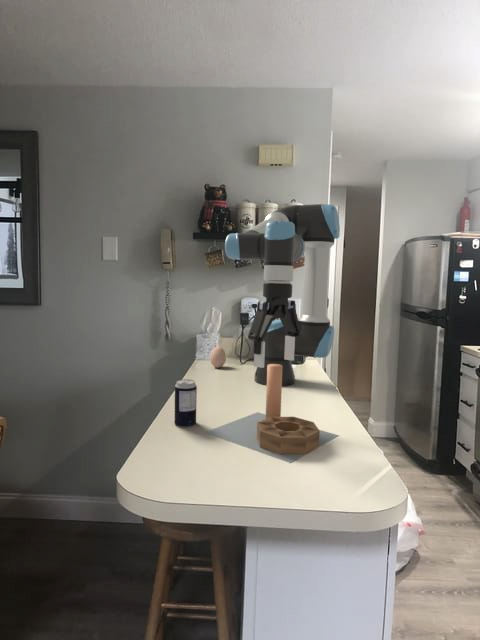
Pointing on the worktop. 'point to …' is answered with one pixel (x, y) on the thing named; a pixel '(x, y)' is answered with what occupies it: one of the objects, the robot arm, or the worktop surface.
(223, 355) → the egg
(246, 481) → the worktop surface
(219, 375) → the worktop surface
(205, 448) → the worktop surface
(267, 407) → the tan round-topped peg
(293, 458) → the mat
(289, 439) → the bead
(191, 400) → the beverage can
